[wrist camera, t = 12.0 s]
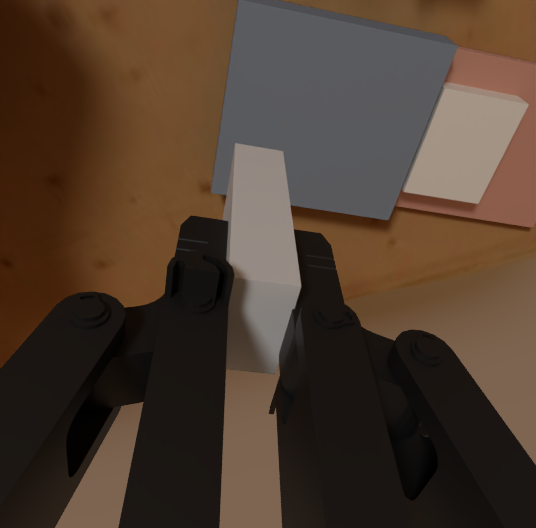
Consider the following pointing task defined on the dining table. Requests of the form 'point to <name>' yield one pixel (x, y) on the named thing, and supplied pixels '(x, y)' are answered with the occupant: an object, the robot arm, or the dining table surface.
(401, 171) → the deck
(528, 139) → the mat
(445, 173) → the tile
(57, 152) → the dining table surface
